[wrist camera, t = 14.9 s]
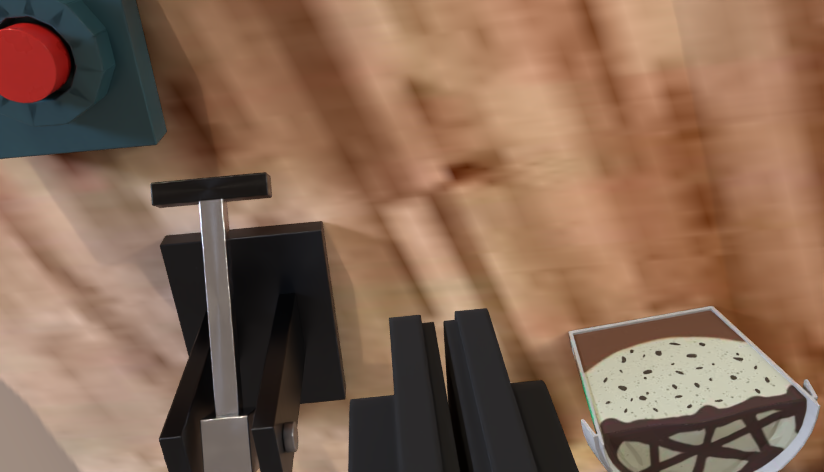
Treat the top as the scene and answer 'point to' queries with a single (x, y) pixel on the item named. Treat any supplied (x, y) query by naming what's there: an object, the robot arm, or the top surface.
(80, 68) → the button block
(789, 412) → the food container
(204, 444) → the lever
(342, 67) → the top surface
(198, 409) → the bracket
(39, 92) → the button
